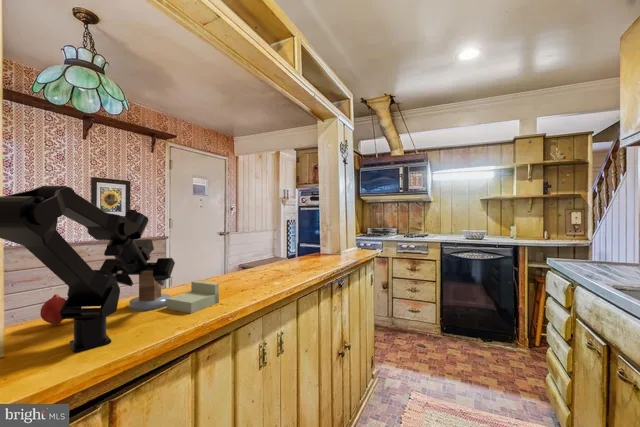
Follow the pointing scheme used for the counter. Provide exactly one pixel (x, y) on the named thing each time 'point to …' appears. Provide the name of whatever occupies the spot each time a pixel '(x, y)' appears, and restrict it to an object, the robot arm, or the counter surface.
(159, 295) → the walnut block
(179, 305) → the ledge
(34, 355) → the counter surface
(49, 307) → the onion
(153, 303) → the disc
